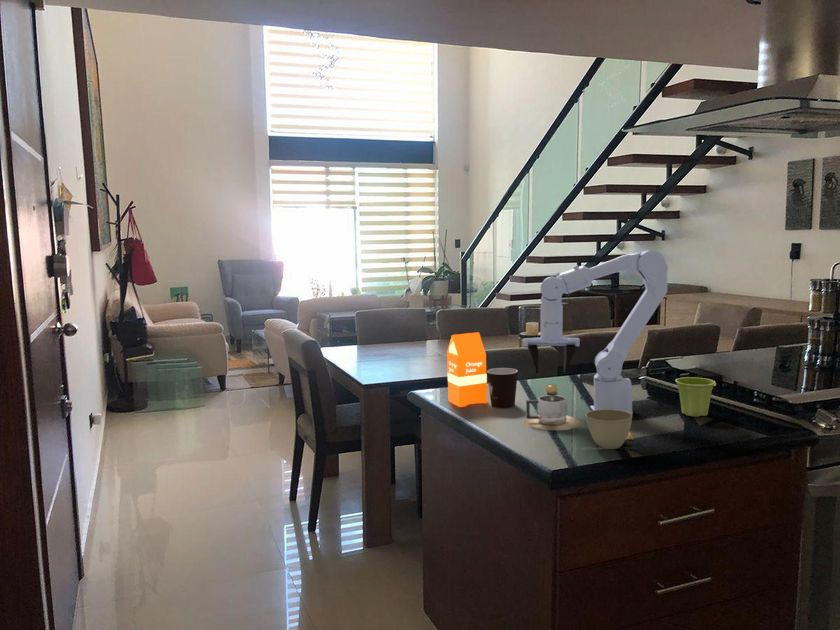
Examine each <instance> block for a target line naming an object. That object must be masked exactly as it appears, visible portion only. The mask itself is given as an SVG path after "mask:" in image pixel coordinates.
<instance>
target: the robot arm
mask: <svg viewBox="0 0 840 630" xmlns="http://www.w3.org/2000/svg"><path fill="white" fill-rule="evenodd" d="M668 270H669V267H668V264H667V261H666V260H665V256H663V254H662V253H660V251H657V250H652V249H643V250H641V251H635V252H629V253H626V254H623V255H620V256H618V257H614V258H613V259H610V260H608V261H605V262H603V263H600V264H597V265H595V266H592V267H587V266H585V265H578V264H576V265H573V267H572V269H570V270H569V269H568V270H567V271H566V270H565V271H563V272H561V273H560V272H556V273H555V276H549V277H546V278H544V279H543V281H542V282H541V284H540V292H541V293H540V294H541V298H540V303H541V305H540V337H525V338H523V347H526V348H527V349H528V351H529V353H530V356H531V360H532V362H533V368H534V373H535V374H539V348H538V346H539V347H562V346H563V358H564V359H563V373H564V374H568V372H569V367H570V364H571V360H572V359H573V356H574V355H575V352H576V350H577V347H580V341H581V339H580V338H579V337H564V336H563V321H564V319H563V318H564V317H563V314H564V312H563V310H564V309H563V308H564V306H563V304H562V301H563V300H562V296H563V294H566V295H569V294H571V293H574V292H577V291H580V290H583V289H587V288H589V287H591V285H592V283H593V281H594V280H597V279H600V278H602V277H606V276H609V275H612V274H615V273H618V272H622V271H628V272H629V271H630V272H635V273H636V272H637V271H638V273H639V274H640V276H641V277H642V281H643V285H644V287H645V289H644V291H643V292H642V294H641V295H640V297H639V299H638V301H637V302H636V303H635V305H634V307H633V308H632V309H631V311H630V313H629V314H628V316H627V318H626V319H625V320H624V322H623V323H622V325H621V327H620V328H619V330H618V331H617V333H616V335H615V336H614V337H613V339H612V340H611V341H610V342H609V343H608V344H607V346H606V347H605V348H604V349H603V350H601V351H599V352H598V353H597V355H596V356H595V357H594V365H595V368H596V374H594V376H593V405H590V406H589V407H590V409H591V411H593V410H600V409H615V410H622V411H626V412H629V413H631V414H632V415H633V387H632V386H633V385H632V381H631V379H630V378H628V377H623V376H622V370H623V364H624V363H625V361H626V359H627V357H628V353H629V351H630V349H631V348H632V346H633V345H634V344H635V342H636V341H637V339H638V337H639V336H640V335H641V333H642V332H643V330H644V328H645V327H646V326H647V324H648V322H649V320H650V319H651V318H652V316H653V315H654V314H655V311H656V310H657V308H658V307H659V306H660V304H661V303H662V301H663V300H664V298H665V296H666V295H667V293H668Z"/></svg>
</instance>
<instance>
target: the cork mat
mask: <svg viewBox="0 0 840 630" xmlns="http://www.w3.org/2000/svg"><path fill="white" fill-rule="evenodd" d="M535 416H538V414H537V415H535ZM523 422H524V424H525V425H526V426H527V427H530V428H532V429H537V430H542V431H565V430H573V429H575V428H578V427H580V426H581V424H582V421H581V420H580V419H578V418H576V417H574V416H571V415H567V423H566V424H564V425H560V426H547V425H542V424H540V423H539V422H538V419H527V418H525V419H524V420H523Z"/></svg>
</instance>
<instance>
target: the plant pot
mask: <svg viewBox="0 0 840 630" xmlns="http://www.w3.org/2000/svg"><path fill="white" fill-rule="evenodd" d="M674 381H675V383H676V385H677V389H678V392H679V401H680V409H681V413H682V415H683V414H684V415H686V416H688V417H694V418H696V417H697V418H698V417H701V416H703V417H706V416H708V415H709V408H710V402H711V396H712V390H714V386H715V385H716V381H715V380H713V379H710V378H705V377H704V378H703V377H694V376H693V377H692V376H691V377H689V376H687V377H684V376H683V377H680V378H676V379H675V380H674Z"/></svg>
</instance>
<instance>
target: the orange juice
mask: <svg viewBox="0 0 840 630" xmlns="http://www.w3.org/2000/svg"><path fill="white" fill-rule="evenodd" d="M446 359H447V360H446V361H447V362H446V363H447V364H446V365H447V366H446V367H447V390H448V391H447V392H448V393H447V395H448V402H449V403H451V404H452V405H454V406H457V407H458V408H463V407H467V406H468V405H474V404H488V391H487V389H488V387H487V385H488V378H487V353H486V351H485V347H484V344H483V341H482V337H481V334H480V332H479V331H478V332H467V333H460V334H452V335H451V338H450V341H449V344H448V348H447V351H446Z"/></svg>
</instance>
